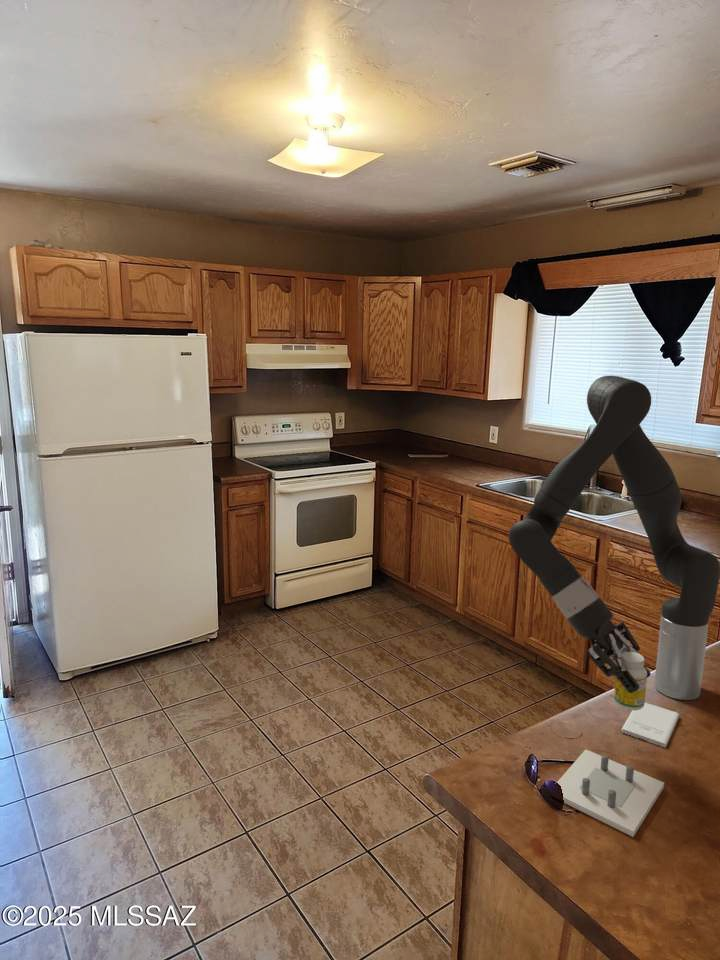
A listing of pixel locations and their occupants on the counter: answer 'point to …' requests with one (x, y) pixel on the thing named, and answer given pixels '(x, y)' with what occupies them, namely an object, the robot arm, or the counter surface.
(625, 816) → the pin tray
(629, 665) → the supplement bottle
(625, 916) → the counter surface
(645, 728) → the external hard drive
